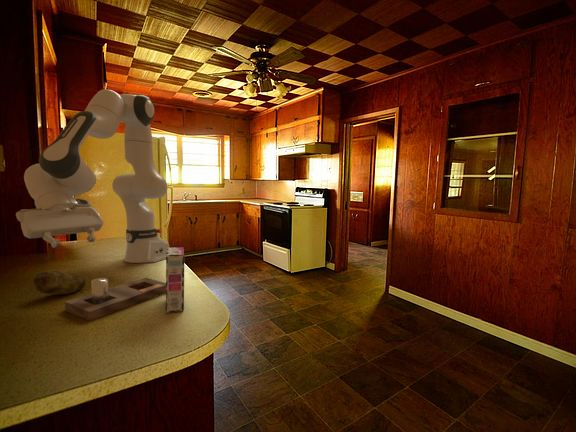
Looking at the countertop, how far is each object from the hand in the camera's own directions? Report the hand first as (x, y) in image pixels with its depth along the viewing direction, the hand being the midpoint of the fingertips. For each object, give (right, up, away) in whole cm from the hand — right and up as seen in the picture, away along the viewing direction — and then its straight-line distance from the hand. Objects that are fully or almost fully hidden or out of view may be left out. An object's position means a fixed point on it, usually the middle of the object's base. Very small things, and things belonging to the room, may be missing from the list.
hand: (75, 243), depth 87 cm
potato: (-8, -17, +6) cm, 19 cm away
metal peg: (+10, -18, -3) cm, 21 cm away
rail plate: (+13, -17, +2) cm, 22 cm away
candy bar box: (+29, -18, 0) cm, 35 cm away
